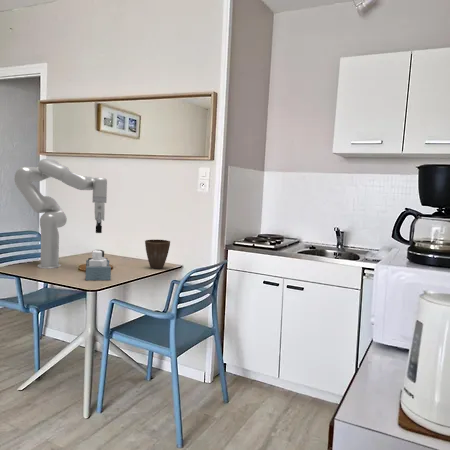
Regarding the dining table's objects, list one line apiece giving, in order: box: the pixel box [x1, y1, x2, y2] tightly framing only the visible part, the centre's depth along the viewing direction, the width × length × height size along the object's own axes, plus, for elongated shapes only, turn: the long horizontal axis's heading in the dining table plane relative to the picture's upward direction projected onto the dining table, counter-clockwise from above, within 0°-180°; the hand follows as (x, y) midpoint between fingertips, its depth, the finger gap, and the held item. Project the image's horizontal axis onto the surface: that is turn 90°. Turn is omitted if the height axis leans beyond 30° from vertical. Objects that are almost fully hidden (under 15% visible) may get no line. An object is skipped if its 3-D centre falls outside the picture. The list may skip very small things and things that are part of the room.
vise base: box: [85, 265, 112, 281], centre depth 225 cm, size 25×12×6 cm, turn 18°
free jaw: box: [85, 257, 110, 267], centre depth 232 cm, size 3×12×6 cm, turn 108°
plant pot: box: [144, 239, 171, 270], centre depth 253 cm, size 15×15×16 cm
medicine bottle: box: [89, 249, 108, 266], centre depth 223 cm, size 7×7×12 cm
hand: (98, 232), depth 238 cm, fingers closed
